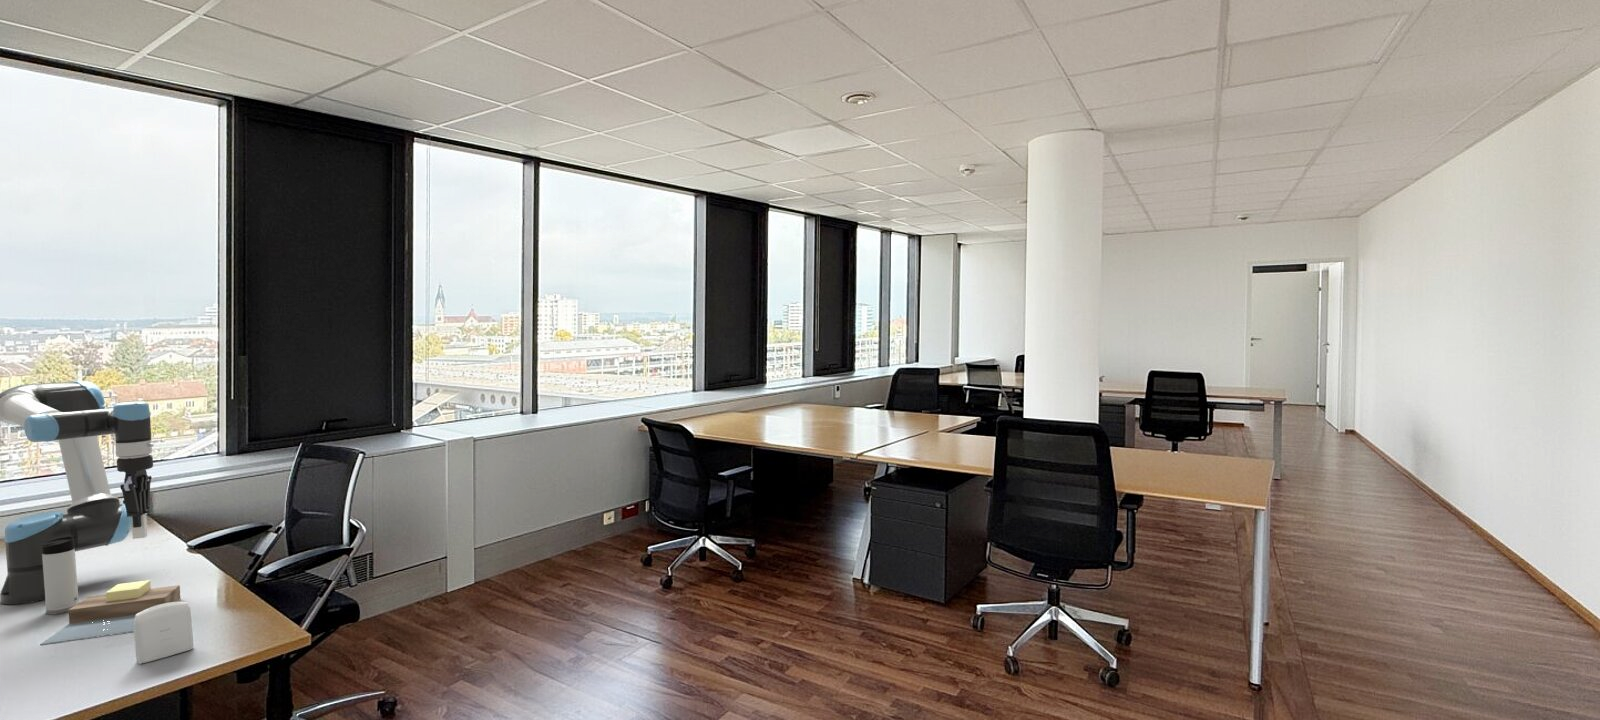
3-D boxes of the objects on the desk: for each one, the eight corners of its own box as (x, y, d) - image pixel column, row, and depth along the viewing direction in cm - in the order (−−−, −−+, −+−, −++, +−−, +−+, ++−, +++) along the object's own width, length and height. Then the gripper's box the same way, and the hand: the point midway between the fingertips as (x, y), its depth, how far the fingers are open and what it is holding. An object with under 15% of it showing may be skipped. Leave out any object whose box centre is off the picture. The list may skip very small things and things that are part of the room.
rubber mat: (69, 624, 187) (69, 623, 187) (165, 611, 195) (165, 610, 195) (40, 645, 175) (40, 644, 175) (144, 630, 183) (144, 629, 183)
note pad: (118, 592, 198) (118, 584, 198) (150, 588, 201) (150, 580, 201) (106, 601, 192) (105, 592, 192) (139, 597, 195) (138, 588, 195)
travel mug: (85, 606, 199) (80, 536, 198) (54, 615, 193) (49, 543, 192) (72, 603, 201) (67, 534, 200) (41, 613, 195) (35, 541, 194)
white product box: (137, 666, 164) (134, 613, 163) (134, 660, 166) (131, 609, 166) (195, 650, 171) (192, 600, 171) (191, 645, 174) (188, 595, 174)
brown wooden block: (89, 610, 196) (88, 596, 196) (180, 598, 204) (179, 585, 204) (69, 624, 187) (68, 609, 187) (165, 611, 195) (164, 597, 195)
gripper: (141, 458, 198) (146, 542, 199) (161, 451, 210) (166, 529, 211) (106, 461, 195) (111, 545, 196) (128, 453, 207) (133, 533, 208)
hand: (140, 537), depth 204 cm, fingers closed
